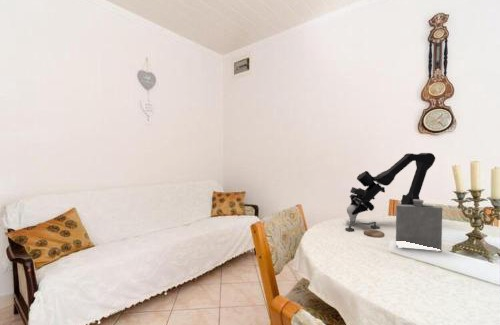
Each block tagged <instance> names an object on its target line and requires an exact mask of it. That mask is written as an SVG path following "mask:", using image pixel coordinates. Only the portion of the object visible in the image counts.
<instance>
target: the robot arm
mask: <svg viewBox="0 0 500 325" xmlns="http://www.w3.org/2000/svg"><path fill="white" fill-rule="evenodd" d="M435 161H436V156H435V155H434V154H433V153H432V152H420V153H405V154H404V155H403V156H402V157H401V158H400V159H399V160H398V161H396V163H394V164H393V165H392V166H390V168H388V169H386V170H384V171H382V172H379V173H378V174H377V175H376V176H373V175H371V173H370V172H369V171H368V170H365V171H363V172H361V173H360V174H359V175H358V176H357V177H356V180H357V181H358V182H359V183H361V185H362V186H363V187H366V188H365V189H363V188H361V187H358V188H356V187H353V186H352V187H351V189H350V195H349V198H350V201H351V203H350V205H355V206H357V207H356V208H355V210H354V211H353V212H352V215H355V214H358V215H359V214H360V213H364V212H368V211H370V212H373V210H375V206H374V204H373V203H372V202H371V201H372V200H375V199H376V196H377V195H378V194H379V193H380V192H381V193H386V190H385V187H383V186H387V187H388V186H389V185H391V183H393V181H394V180H395V177H396V176H397V175H398V174H399V173H400V172H402V171H403V170H404V169H405V168H406V167H408V166H409V165H410V164H411V163H412V162H415V168H416V169H415V171H414V176H413V178H412V181H411V184H410V187H409V190H408V192H407V193H406V194H402V198H401V200H400V202H401V203H400V205H414V202H413V200H414V199H418V200H421V199H420V193H421V190H422V187H423V185H424V181H425V179H426V176H427V173H428V171H429V169H430V168H431V167H432V166H433V165H434V162H435ZM350 205H349V206H350Z"/></svg>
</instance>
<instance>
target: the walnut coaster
mask: <svg viewBox="0 0 500 325" xmlns="http://www.w3.org/2000/svg"><path fill="white" fill-rule="evenodd" d="M363 235H364V236H367V237H371V238H384V237H385V232H383V231H381V230H378V229H365V230H363Z"/></svg>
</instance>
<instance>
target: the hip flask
mask: <svg viewBox="0 0 500 325" xmlns="http://www.w3.org/2000/svg"><path fill="white" fill-rule="evenodd" d="M413 202H414V205H401V204H396V206H395V207H396V210H395V211H396V212H395V214H396V215H395V216H396V217H395V223H396V224H395V242H396V241H406V242H410V243H415V244H419V245H423V246H427V247H433V248H437V249H440V250H441V251H442V243H443V242H442V241H443V240H442V237H443V236H442V235H443V207H442V206H436V205H430V204H423V203H424V199H420V200H418V199H414V200H413Z"/></svg>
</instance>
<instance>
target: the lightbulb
mask: <svg viewBox="0 0 500 325" xmlns="http://www.w3.org/2000/svg"><path fill="white" fill-rule="evenodd" d="M356 207H357V206H355V205H348V206H347V207H346V213H347V214H348V217H349V224H351V223H355V222H356V221H357V217H358V215H359V213H358V214H355V215H352V212H353V211H354V210H355V208H356Z"/></svg>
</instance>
